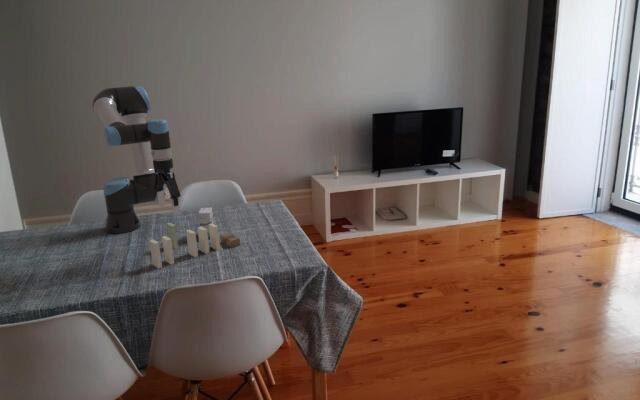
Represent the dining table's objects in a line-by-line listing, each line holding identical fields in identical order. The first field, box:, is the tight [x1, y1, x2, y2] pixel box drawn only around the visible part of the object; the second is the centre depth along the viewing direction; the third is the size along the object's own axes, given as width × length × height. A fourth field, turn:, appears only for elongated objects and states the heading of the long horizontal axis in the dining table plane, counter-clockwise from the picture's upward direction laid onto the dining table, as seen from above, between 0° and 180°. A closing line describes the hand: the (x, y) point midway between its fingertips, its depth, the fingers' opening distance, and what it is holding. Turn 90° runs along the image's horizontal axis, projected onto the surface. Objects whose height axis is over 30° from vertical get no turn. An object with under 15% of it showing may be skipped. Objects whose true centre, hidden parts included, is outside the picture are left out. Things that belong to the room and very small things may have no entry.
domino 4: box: [185, 229, 199, 258], centre depth 200 cm, size 2×5×10 cm, turn 40°
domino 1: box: [149, 238, 163, 269], centre depth 191 cm, size 2×5×10 cm, turn 40°
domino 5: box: [197, 226, 210, 255], centre depth 203 cm, size 2×5×10 cm, turn 40°
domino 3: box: [161, 235, 175, 265], centre depth 194 cm, size 2×5×10 cm, turn 40°
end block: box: [219, 232, 241, 249], centre depth 211 cm, size 9×4×3 cm, turn 40°
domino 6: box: [209, 224, 221, 251], centre depth 206 cm, size 2×5×10 cm, turn 40°
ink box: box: [198, 207, 215, 239], centre depth 220 cm, size 9×5×12 cm, turn 5°
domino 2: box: [166, 222, 179, 250], centre depth 209 cm, size 2×5×10 cm, turn 40°
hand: (169, 209), depth 205 cm, fingers open, 13 cm apart
